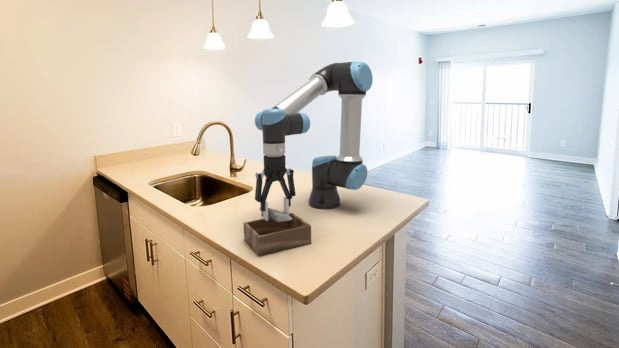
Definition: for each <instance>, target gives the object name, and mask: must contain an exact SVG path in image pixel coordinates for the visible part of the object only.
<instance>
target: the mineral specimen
mask: <svg viewBox="0 0 619 348" xmlns="http://www.w3.org/2000/svg"><path fill="white" fill-rule="evenodd" d="M259 211H260V212H261V214H260V216H261V217H262V218H261V219H263V212H262V211H261V206H260V207H259ZM268 218H272V219H273V220H275V221H276V222H282V221H290V220H292V218H291V217H290V216H289V215H287V214H285V213H284V211H279V210H277V209H275V208H270V207H268Z"/></svg>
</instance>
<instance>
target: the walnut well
mask: <svg viewBox="0 0 619 348" xmlns="http://www.w3.org/2000/svg"><path fill="white" fill-rule="evenodd" d="M289 216H290V217H291V218H292V220H290V221H282V222H276V221H275V220H273V219H272V218H268V221H266V220H265V219H263V218H260V219H255V220H249V221H244V222H243V238H244V239H243V240H244V242H245V243H246V244H247V245H248V246H249V247H250V249H251V250H253V252H254V253H255V254H256V255H257V256H258V257H259V258H260V257H265V256H267V255H272V254H276V253H279V252H284V251H287V250H292V249H296V248H299V247H303V246H306V245H310V244H312V225H311V224H309V223H308V222H306V221H305V220H304V219H303V218H301V217H299V216H298V215H297V214H295V213H293V212H289Z"/></svg>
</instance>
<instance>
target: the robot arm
mask: <svg viewBox="0 0 619 348" xmlns="http://www.w3.org/2000/svg"><path fill="white" fill-rule="evenodd" d="M372 86H373V72H372V69H371V68H370V66H369V65H368V64H367V63H366V62H364V61H346V62H334V63H330V64H328V65H326V66H324V67H322V68H320V69H319V70H318V71H316V72H314V73H313V74H312V75H311V76H310V77H309V79H308V81H306V82H305V83H304V84H303V85H301V86H300V87H298V88H297V89H296V90H294V91H293V92H292V93H290V94H288V96H287V97H285V98H284V99H282V100H281V101H279V102H278V103H277V104H275V105H274V106H273V107H271V108H266V109H263V110H262V111H259V112H258V113H256V115H255V118H254V124H255V127H256V129H258V130H259V131H261V132H262V149H263V150H262V152H263V170H262V171H261V172H256V173H255V178H256V180H255V181H256V182H255V194H254V195H255V196H254V200H255V201H256V202H257V203H259V205H260V207H261V211H262V212H263V216H262V217H263V218H262V219H265V220H266V221H268V208H269V205H268V202H267V199H268V195H269V193H270V189H271V186H273V183H275V182H279V185H280V186H281V190H282V191H283V193H284V195H285V196H284V197H282V198H283V212H284V213H285V214H287V215H289V213H290V207H291V205H292V203H291V202H292V201H291V200H292V199H293V197H296V195H297V194H296V193H297V192H296V188H295V182H294V181H295V179H294V172H295V171H294V170H293V169H292V168H286V155H285V154H286V137H287V136H294V135H302V134H305V133H308V131H309V130H310V129H311V120H310V117H309V115H308V114H306V113H304V112H300V111H302V110H303V109H304V108H305V107H306V106H308V105H309V104H310V103H312V102H313V101H314V100H316V99H317V98H318V97H319V96H323V95H325V94H327V93H329V92H333V91H337V92H338V97H340V99H341V111H340V112H341V113H340V116H341V117H340V136H339V138H340V139H339V155H338V156H337V155H323V156H318V157H314V158H313V159H312V162H311V164H312V166H311V179H312V181H311V183H312V185H311V186H312V187H311V188H312V189H311V192H310V195H309V198H308V205H309V206H310V207H312V208H314V209H321V210H326V209H327V210H328V209H335V208H337V207H340V205H341V197H340V194H339V192H338V188H337V187H340V188H343V189H346V190H353V191H358V190H359V189H360V188H362V187H363V186H364V184H365V182H366V180H367V177H368V168H367V166H366V165H365V164H363V159H364V158H362V157H361V155H360V150H361V149H360V147H361V131H362V129H361V127H362V107H363V100H364V98H365V97H366V96H367V92H368V91H369V90H371V88H372ZM285 175H286V177H287V183H286V179H285ZM264 177H265V180H264V186H263V179H264ZM287 184H288V185H287ZM261 211H260V212H261Z"/></svg>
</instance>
